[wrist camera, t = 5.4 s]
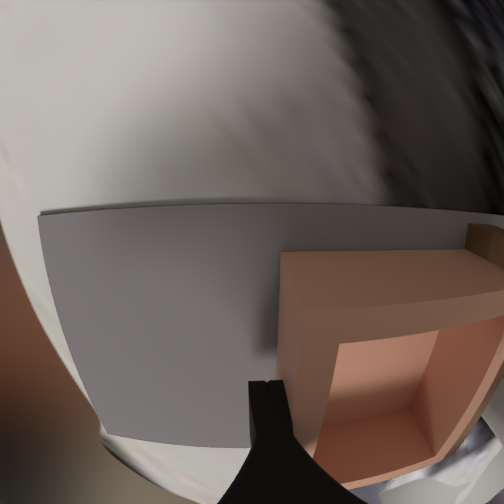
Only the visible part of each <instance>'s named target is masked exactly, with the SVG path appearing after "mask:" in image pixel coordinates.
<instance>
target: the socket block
mask: <svg viewBox="0 0 504 504" xmlns="http://www.w3.org/2000/svg"><path fill="white" fill-rule="evenodd" d="M503 360H504V269H502V268H500V267H498V266H496V265H495V264H493V263H491V262H489V261H487V260H485V259H483V258H481V257H480V256H478V255H476V254H474V253H472V252H470V251H468V250H466V249H457V250H380V251H302V252H281V257H280V292H279V319H278V342H277V362H276V380H283V383H284V387H285V391H286V395H287V399H288V404H289V409H290V413H291V418H292V422H293V434H294V436H295V437H296V439H297V440H298V441H299V443H300V444H301V445H302V447H303V448H304V449H305V450H306V451H307V453H308V454H309V455H310V456H311V457H312V458H313V459H314V460H315V461H316V462H317V464H318V465H319V466H320V467H321V468H323V469H324V470H325V471H326V472H327V473H328V474H329V475H330V476H331V477H332V478H334V479H335V480H336V481H337V482H338V483H339V484H341V485H342V486H343V487H345V488H346V489H347V490H349V489H354V488H358V487H362V486H366V485H370V484H374V483H378V482H382V481H385V480H389V479H392V478H395V477H398V476H401V475H404V474H407V473H410V472H413V471H416V470H419V469H421V468H424V467H427V466H429V465H432V464H434V463H437V462H439V461H441V460H442V459H443V458H444V457H445V455H446V454H447V453H448V452H449V450H450V449H451V448H452V446H453V445H454V443H455V442H456V441H457V439H458V438H459V437H460V435H461V434H462V432H463V431H464V429H465V428H466V426H467V425H468V423H469V422H470V420H471V419H472V417H473V415H474V414H475V412H476V411H477V409H478V407H479V406H480V404H481V402H482V401H483V399H484V397H485V395H486V394H487V392H488V390H489V388H490V386H491V384H492V382H493V381H494V379H495V377H496V375H497V373H498V371H499V369H500V366H501V364H502V362H503Z"/></svg>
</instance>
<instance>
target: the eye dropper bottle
mask: <svg viewBox="0 0 504 504" xmlns="http://www.w3.org/2000/svg"><path fill="white" fill-rule="evenodd" d="M481 416H482V417H483V418H484V420H485V421H486V422H487V424H488V425H489V427H490V428H491V429H492V431H493V432H494V434H495V435H496V436H497V438H498V439H499V441H500V442H501V444H502V445H503V447H504V377H503V378H502V380H501V382H500V384H499V386H498V388H497V390H496V391H495V393H494V395H493V397H492V398H491V400H490V402H489V403H488V405H487V407H486V408H485V410H484V412H483V413H482V415H481Z"/></svg>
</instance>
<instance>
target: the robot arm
mask: <svg viewBox="0 0 504 504" xmlns="http://www.w3.org/2000/svg"><path fill="white" fill-rule="evenodd" d="M248 395H249V428H250V442H251V450H250V452H249V454H248V456H247V458H246V460H245V462H244V464H243V466H242V467H241V469H240V471H239V473H238V474H237V476H236V478H235V479H234V481H233V482H232V484H231V485H230V487H229V488H228V490H227V491H226V493H225V494H224V495H223V497H222V498H221V499H220V501H219V502H218V503H217V504H382V501H381V498H380V495H379V493H380V492H381V491H382V489H383V488H384V487H385V486H386V484H387V483H388V482H389V480H390V479H389V480H385V481H382V482H378V483H374V484H370V485H366V486H362V487H358V488H354V489H349V490H347V489H346V488H345V487H343V486H342V485H341V484H339V483H338V482H337V481H336V480H335V479H334V478H332V477H331V476H330V475H329V474H328V473H327V472H326V471H325V470H324V469H323V468H321V467H320V466H319V465H318V464H317V462H316V461H315V460H314V459H313V458H312V457H311V456H310V455H309V454H308V453H307V451H306V450H305V449H304V448H303V447H302V445H301V444H300V443H299V441H298V440H297V439H296V437H295V436H294V434H293V422H292V418H291V413H290V409H289V404H288V399H287V395H286V391H285V387H284V383H283V380H270V381H268V382H266V381H264V380H263V381H248ZM486 504H504V489H503V490H501V491H500V492H499V493H498V494H497V495H495V496H494V497H493V498H492V499H491V500H490V501H489V502H487V503H486Z"/></svg>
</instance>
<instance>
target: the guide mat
mask: <svg viewBox="0 0 504 504" xmlns="http://www.w3.org/2000/svg"><path fill="white" fill-rule="evenodd" d="M37 218H38V225H39V232H40V239H41V245H42V250H43V256H44V261H45V266H46V270H47V275H48V279H49V284H50V288H51V292H52V296H53V299H54V303H55V307H56V310H57V313H58V317H59V320H60V323H61V326H62V330H63V333H64V336H65V339H66V341H67V344H68V347H69V350H70V353H71V355H72V358H73V361H74V363H75V366H76V368H77V371H78V373H79V375H80V378H81V380H82V382H83V385H84V387H85V389H86V392H87V394H88V396H89V398H90V400H91V402H92V404H93V406H94V408H95V410H96V412H97V414H98V416H99V418H100V420H101V422H102V424H103V426H104V428H105V430H106V432H107V433H108V434H111V435H116V436H121V437H126V438H132V439H138V440H144V441H150V442H157V443H165V444H174V445H184V446H197V447H216V448H251V442H250V428H249V395H248V381H263V380H264V381H266V382H268V381H270V380H276V362H277V342H278V319H279V292H280V257H281V252H302V251H380V250H457V249H464V248H465V242H466V235H467V228H468V223H476V224H490V225H494V226H497V227H500V228H502V229H504V216H503V215H495V214H485V213H476V212H465V211H454V210H442V209H429V208H414V207H398V206H378V205H354V204H316V203H232V204H193V205H168V206H148V207H131V208H116V209H103V210H90V211H78V212H68V213H57V214H48V215H39V216H37Z"/></svg>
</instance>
